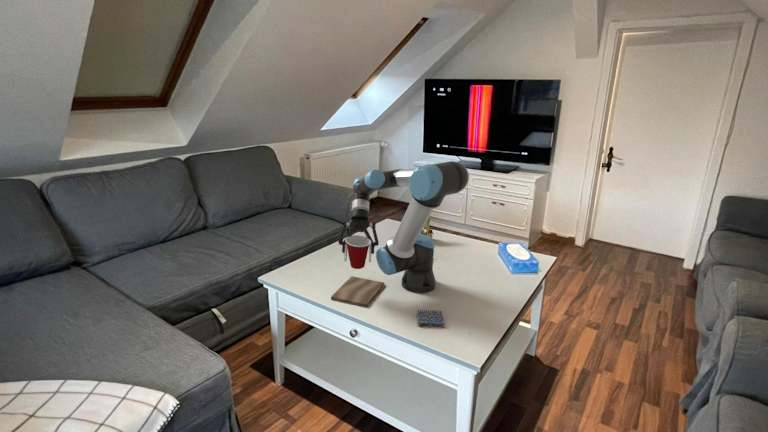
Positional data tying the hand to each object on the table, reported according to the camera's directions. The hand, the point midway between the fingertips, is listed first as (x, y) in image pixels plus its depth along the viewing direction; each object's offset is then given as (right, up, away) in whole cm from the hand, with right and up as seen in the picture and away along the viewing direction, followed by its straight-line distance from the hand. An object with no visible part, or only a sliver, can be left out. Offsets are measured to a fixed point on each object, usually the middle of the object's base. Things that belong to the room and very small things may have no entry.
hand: (357, 260), depth 169 cm
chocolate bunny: (+35, +3, +63) cm, 72 cm away
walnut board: (0, -14, +8) cm, 16 cm away
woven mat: (+28, -22, -11) cm, 38 cm away
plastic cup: (0, -3, +4) cm, 5 cm away
